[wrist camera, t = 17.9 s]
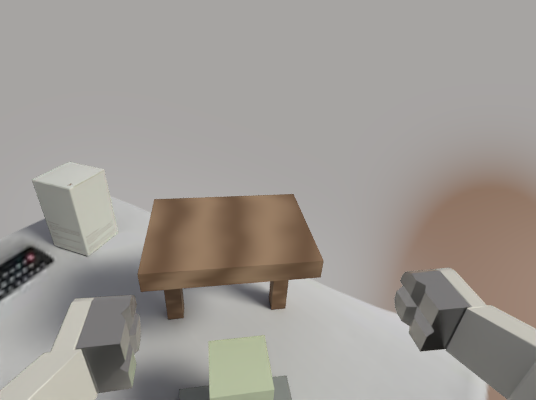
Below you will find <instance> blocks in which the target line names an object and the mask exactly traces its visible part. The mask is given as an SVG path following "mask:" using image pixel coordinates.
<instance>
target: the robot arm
mask: <svg viewBox="0 0 536 400" xmlns="http://www.w3.org/2000/svg"><path fill="white" fill-rule="evenodd" d="M400 281H401V283H402V285H403V286H402V287H401V288H400V289H399V290H398V291H397V292H396V296H395V308H396V311H397V314H398V316H399V317H400V319H401V321H403V322H404V323H406V324H407V325H409V326H410V327H409V334H410V336H411V337H412V339H413V340H414V342H415V344H416V345H417V347H418V349H419V350H420V351H430V350H440V349H446V351H447V352H448V353H450V354H451V355H452V356H453V357H455V358H456V359H457V360H458V361H460V362H461V363H462V364H463V365H465V366H466V367H467V368H468V369H470V370H471V371H472V372H474V373H475V374H476V375H477V376H479V377H480V378H481V379H482V380H484V381H485V382H486V383H487V384H489V385H490V386H491V387H492V388H494V389H495V390H496V391H497V392H499V393H500V394H501V395H503V396H504V397H505V398H506V399H507V400H536V329H535V328H533V327H532V326H530V325H528V324H526V323H524V322H522V321H520V320H518V319H516V318H514V317H512V316H511V315H509V314H507V313H505V312H503V311H501V310H499V309H497V308H495V307H494V306H487V305H486V304H485V303H484V302H483V301H482V300H481V299H480V297H479V296H478V295H476V293H475V292H474V291H473V290H472V289H471V288H470V287H469V285H467V283H466V282H465V281H464V280H463V279H462V278H461V277H460V276H459V275H458V273H456V271H455V270H453V269H451V268H441V269H430V270H419V271H409V272H405V273H404V274H403V275H402V278H401V280H400ZM136 306H137V303H136V299H135V296H134V295H121V296H104V297H94V298H77V299H74V301H73V302H72V303H71V304H70V306H69V309H68V311H67V314H66V316H65V318H64V321H63V323H62V325H61V328H60V330H59V333H58V335H57V337H56V340H55V342H54V344H53V347H52V349H51V352H47V353H43V354H42V355H41V356H40V357H39V358H37V359H36V360H35V361H34V362H33V363H32V364H31V365H29V366H28V367H27V368H26V369H25V370H24V371H22V372H21V373H20V374H19V375H18V376H17V377H15V378H14V379H13V380H12V381H11V382H10V383H9V384H7V385H6V386H5V387H4V388H3V389H2V390H0V400H95V398H96V397H97V396H98V395H97V393H103V392H110V391H116V390H123V389H129V388H132V386H133V380H134V374H135V369H136V361H135V356H134V354H135V353H136V352H137V351H138V350H139V346H140V338H141V324H140V317H139V315H138V314H137V313H135V311H136Z"/></svg>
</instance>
